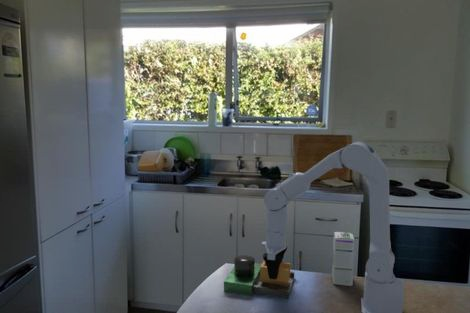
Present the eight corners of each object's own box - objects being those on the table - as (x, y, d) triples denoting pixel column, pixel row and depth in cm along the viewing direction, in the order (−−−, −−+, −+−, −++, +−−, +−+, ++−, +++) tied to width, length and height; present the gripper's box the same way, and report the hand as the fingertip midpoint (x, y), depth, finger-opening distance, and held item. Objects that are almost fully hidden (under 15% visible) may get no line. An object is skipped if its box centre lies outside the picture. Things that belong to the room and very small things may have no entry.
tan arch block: (290, 277, 112) (290, 263, 112) (287, 285, 108) (288, 270, 107) (263, 274, 115) (263, 260, 114) (259, 281, 110) (260, 266, 109)
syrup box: (352, 286, 112) (355, 238, 110) (332, 284, 113) (334, 237, 111) (351, 278, 117) (353, 232, 115) (331, 276, 118) (333, 231, 116)
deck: (294, 277, 117) (295, 255, 116) (287, 301, 102) (288, 276, 102) (237, 269, 122) (238, 248, 121) (223, 291, 107) (224, 267, 106)
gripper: (267, 220, 117) (266, 262, 119) (257, 235, 103) (255, 283, 105) (290, 223, 115) (288, 265, 117) (282, 238, 101) (281, 286, 103)
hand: (274, 274), depth 111 cm, fingers closed on tan arch block, 5 cm apart
